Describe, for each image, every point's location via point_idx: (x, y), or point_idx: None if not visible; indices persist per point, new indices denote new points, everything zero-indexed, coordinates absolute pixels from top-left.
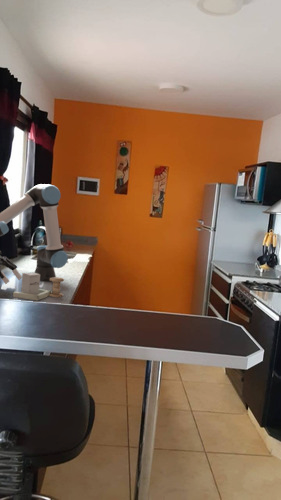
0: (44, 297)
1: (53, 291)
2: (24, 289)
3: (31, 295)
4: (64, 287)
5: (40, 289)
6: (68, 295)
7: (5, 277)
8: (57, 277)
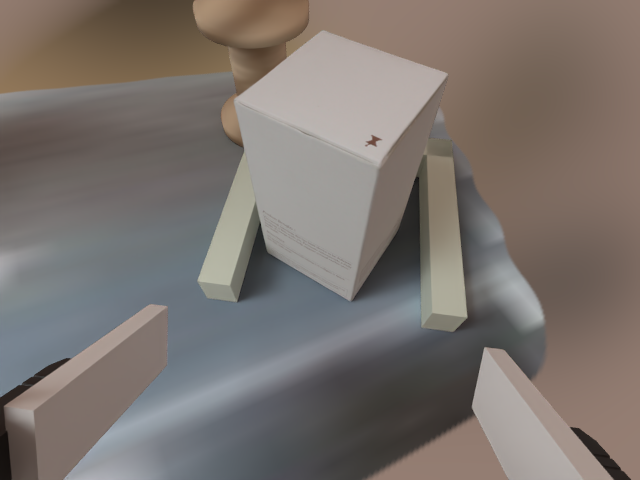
0: None
1: None
2: (383, 240)
3: (453, 176)
4: (2, 133)
5: (249, 178)
6: (232, 79)
7: (540, 402)
8: (197, 7)
